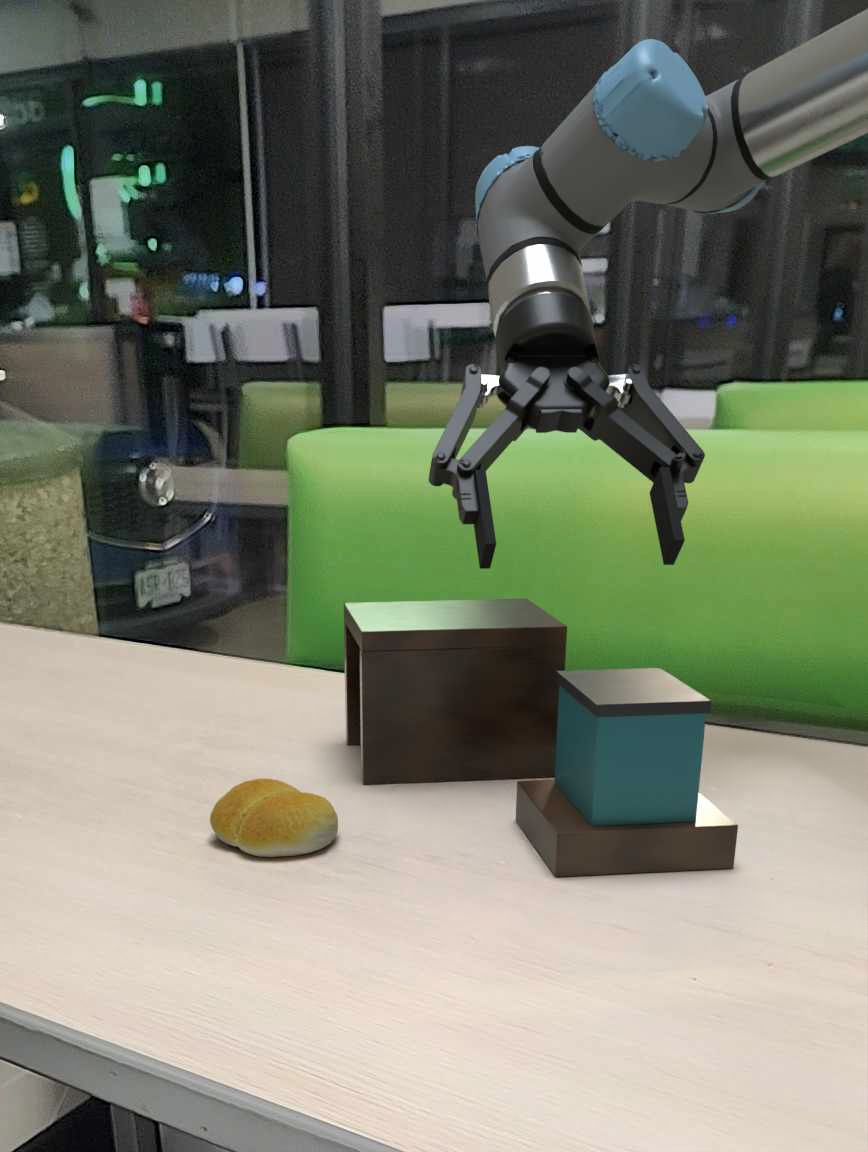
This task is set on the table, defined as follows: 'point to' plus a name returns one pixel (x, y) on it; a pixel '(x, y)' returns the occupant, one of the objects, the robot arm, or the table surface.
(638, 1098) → the table surface
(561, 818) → the bottom shelf
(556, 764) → the box
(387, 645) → the top shelf
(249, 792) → the bread roll
